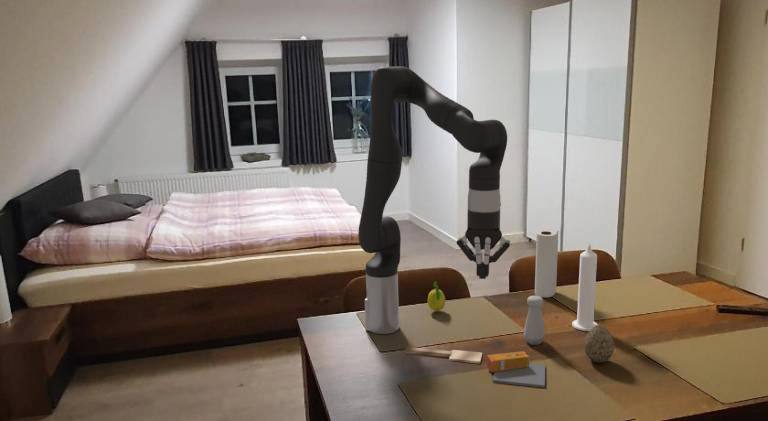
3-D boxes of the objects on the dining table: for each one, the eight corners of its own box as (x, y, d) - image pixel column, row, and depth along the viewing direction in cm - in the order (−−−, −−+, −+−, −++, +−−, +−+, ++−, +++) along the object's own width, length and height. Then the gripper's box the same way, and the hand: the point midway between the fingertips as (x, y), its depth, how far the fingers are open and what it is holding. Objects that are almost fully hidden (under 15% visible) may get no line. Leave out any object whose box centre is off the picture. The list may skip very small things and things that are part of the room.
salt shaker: (545, 347, 156) (547, 301, 153) (523, 345, 157) (524, 300, 154) (544, 337, 161) (545, 293, 158) (522, 336, 163) (524, 292, 160)
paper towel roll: (535, 297, 190) (537, 235, 185) (533, 291, 196) (535, 230, 191) (558, 298, 189) (560, 235, 184) (556, 291, 194) (558, 230, 190)
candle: (571, 329, 166) (575, 246, 160) (573, 320, 172) (576, 239, 166) (597, 333, 163) (602, 248, 157) (598, 323, 170) (603, 241, 164)
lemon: (433, 306, 186) (433, 276, 183) (449, 309, 182) (449, 279, 180) (422, 313, 180) (422, 282, 178) (438, 317, 177) (438, 286, 175)
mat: (492, 381, 139) (492, 379, 139) (496, 362, 148) (496, 360, 148) (544, 387, 136) (544, 385, 136) (544, 367, 145) (545, 365, 145)
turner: (404, 355, 153) (404, 352, 153) (408, 347, 158) (408, 344, 158) (480, 363, 148) (480, 360, 148) (482, 354, 153) (482, 351, 153)
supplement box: (491, 373, 142) (529, 368, 144) (491, 361, 142) (529, 355, 143) (486, 367, 146) (524, 361, 147) (486, 354, 145) (524, 349, 146)
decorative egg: (577, 358, 149) (579, 322, 147) (598, 352, 152) (600, 317, 150) (597, 370, 143) (599, 333, 141) (619, 364, 146) (621, 327, 143)
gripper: (452, 209, 132) (452, 281, 137) (511, 212, 129) (510, 285, 133) (457, 202, 140) (457, 270, 144) (513, 204, 136) (512, 274, 140)
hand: (482, 277), depth 138 cm, fingers closed
